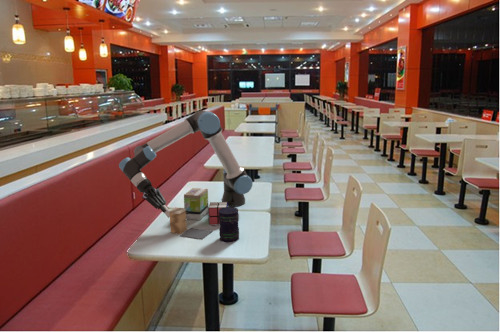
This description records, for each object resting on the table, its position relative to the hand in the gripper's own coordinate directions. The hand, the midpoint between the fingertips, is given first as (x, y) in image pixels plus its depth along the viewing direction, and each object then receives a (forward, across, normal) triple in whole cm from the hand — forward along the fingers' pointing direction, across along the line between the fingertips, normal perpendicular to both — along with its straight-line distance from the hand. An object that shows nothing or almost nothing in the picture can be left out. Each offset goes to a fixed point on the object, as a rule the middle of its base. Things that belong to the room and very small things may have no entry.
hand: (170, 215), depth 208 cm
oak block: (+9, 0, -3) cm, 9 cm away
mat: (+16, 0, +5) cm, 17 cm away
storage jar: (+30, 0, +18) cm, 35 cm away
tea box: (+7, -25, -5) cm, 26 cm away
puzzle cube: (+19, -20, +7) cm, 28 cm away
